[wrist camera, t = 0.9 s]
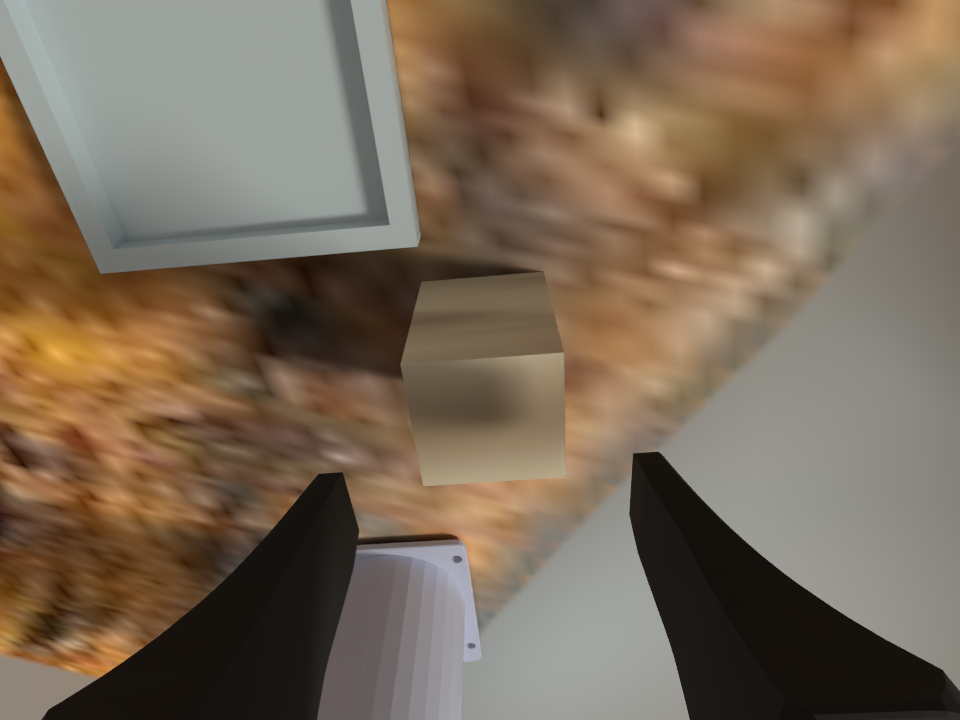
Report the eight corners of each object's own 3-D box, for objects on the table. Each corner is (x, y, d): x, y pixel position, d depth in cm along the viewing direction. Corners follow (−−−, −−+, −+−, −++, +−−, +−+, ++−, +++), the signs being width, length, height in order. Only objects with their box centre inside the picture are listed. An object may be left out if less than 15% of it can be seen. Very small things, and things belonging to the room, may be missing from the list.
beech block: (547, 375, 23) (565, 477, 17) (437, 383, 23) (423, 486, 18) (543, 271, 20) (563, 352, 15) (421, 281, 21) (400, 365, 15)
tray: (421, 235, 20) (417, 246, 19) (120, 261, 20) (100, 273, 19) (358, -188, 14) (348, -206, 13) (-54, -136, 15) (-95, -149, 14)
